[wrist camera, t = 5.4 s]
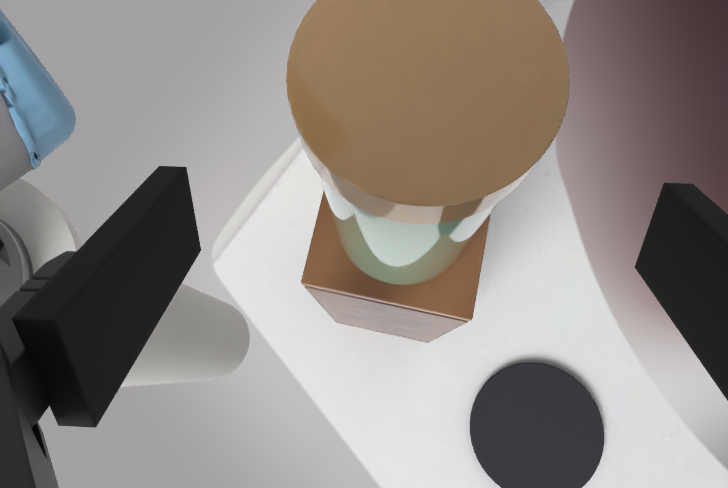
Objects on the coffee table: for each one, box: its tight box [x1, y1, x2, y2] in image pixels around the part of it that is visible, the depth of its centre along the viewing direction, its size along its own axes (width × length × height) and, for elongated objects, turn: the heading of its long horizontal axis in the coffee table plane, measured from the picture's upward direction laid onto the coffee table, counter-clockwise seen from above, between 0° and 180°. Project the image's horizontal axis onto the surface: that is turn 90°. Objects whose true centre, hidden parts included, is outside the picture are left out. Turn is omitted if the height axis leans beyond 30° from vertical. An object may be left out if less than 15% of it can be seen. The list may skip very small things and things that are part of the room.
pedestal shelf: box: [301, 191, 490, 343], centre depth 33 cm, size 8×8×20 cm
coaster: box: [470, 363, 604, 488], centre depth 40 cm, size 10×10×1 cm
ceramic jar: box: [286, 0, 569, 285], centre depth 18 cm, size 6×6×12 cm
